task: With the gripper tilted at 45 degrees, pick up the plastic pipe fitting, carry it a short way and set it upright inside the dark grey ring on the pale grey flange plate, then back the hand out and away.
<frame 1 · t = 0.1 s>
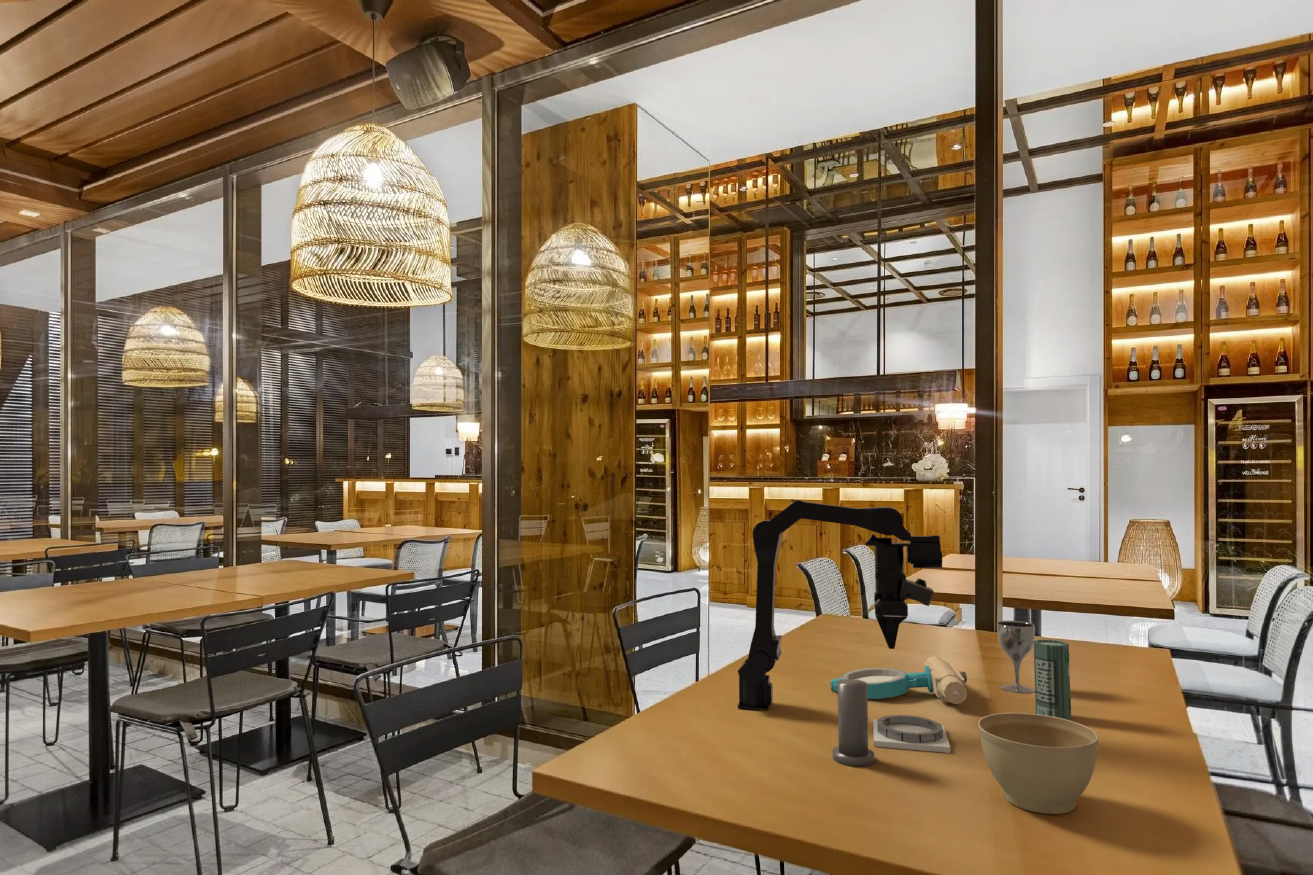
hand: (891, 643, 156), 15 cm above the table, tool pointing down, fingers open, 9 cm apart
butterfly valve: (897, 695, 172), on the table
wine glass: (1017, 689, 176), on the table
can: (1053, 718, 155), on the table
flange plate: (909, 737, 142), on the table
pipe fitting: (853, 758, 131), on the table
planter bowl: (1038, 803, 114), on the table
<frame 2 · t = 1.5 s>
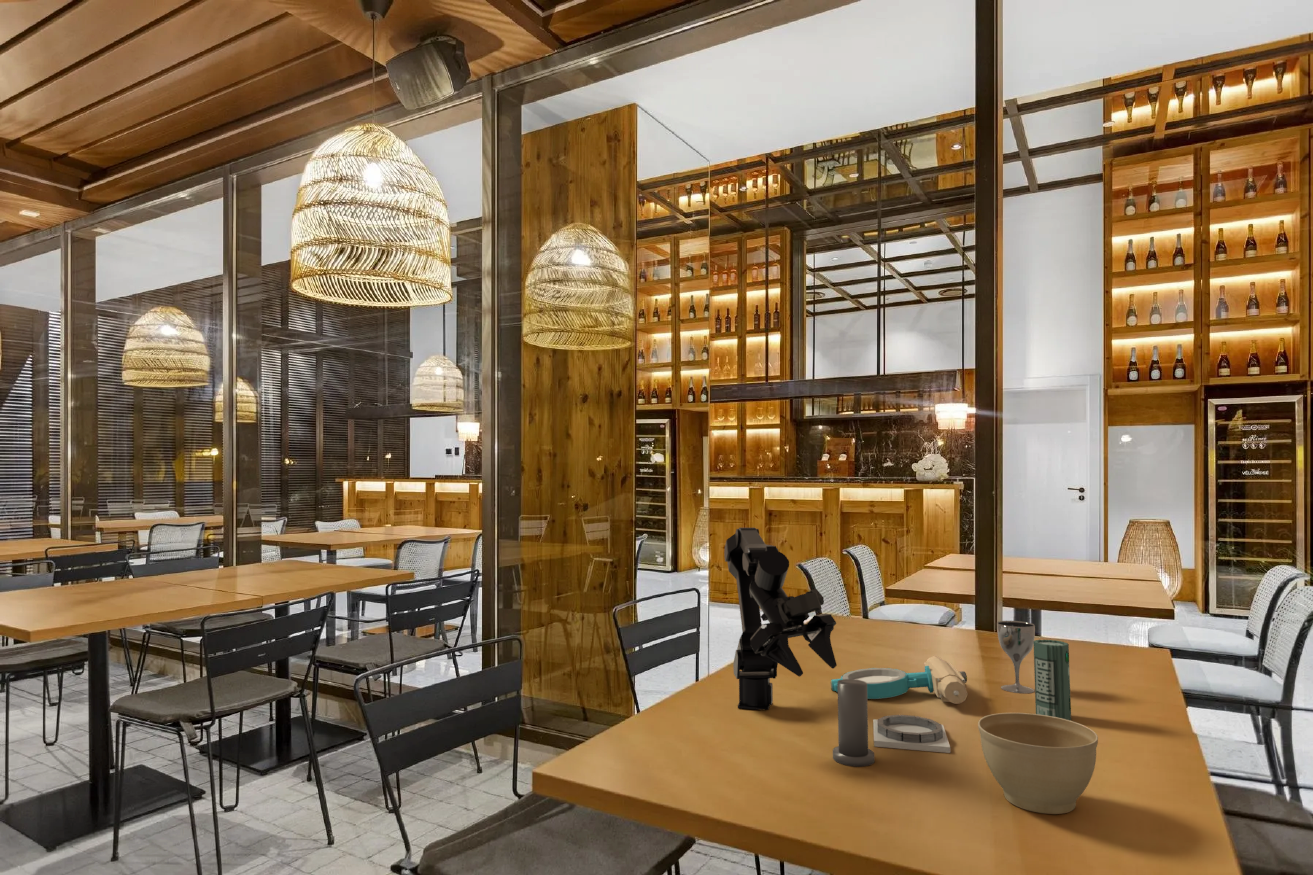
hand: (818, 670, 139), 13 cm above the table, tool tilted 45°, fingers open, 9 cm apart
nothing on the table moved.
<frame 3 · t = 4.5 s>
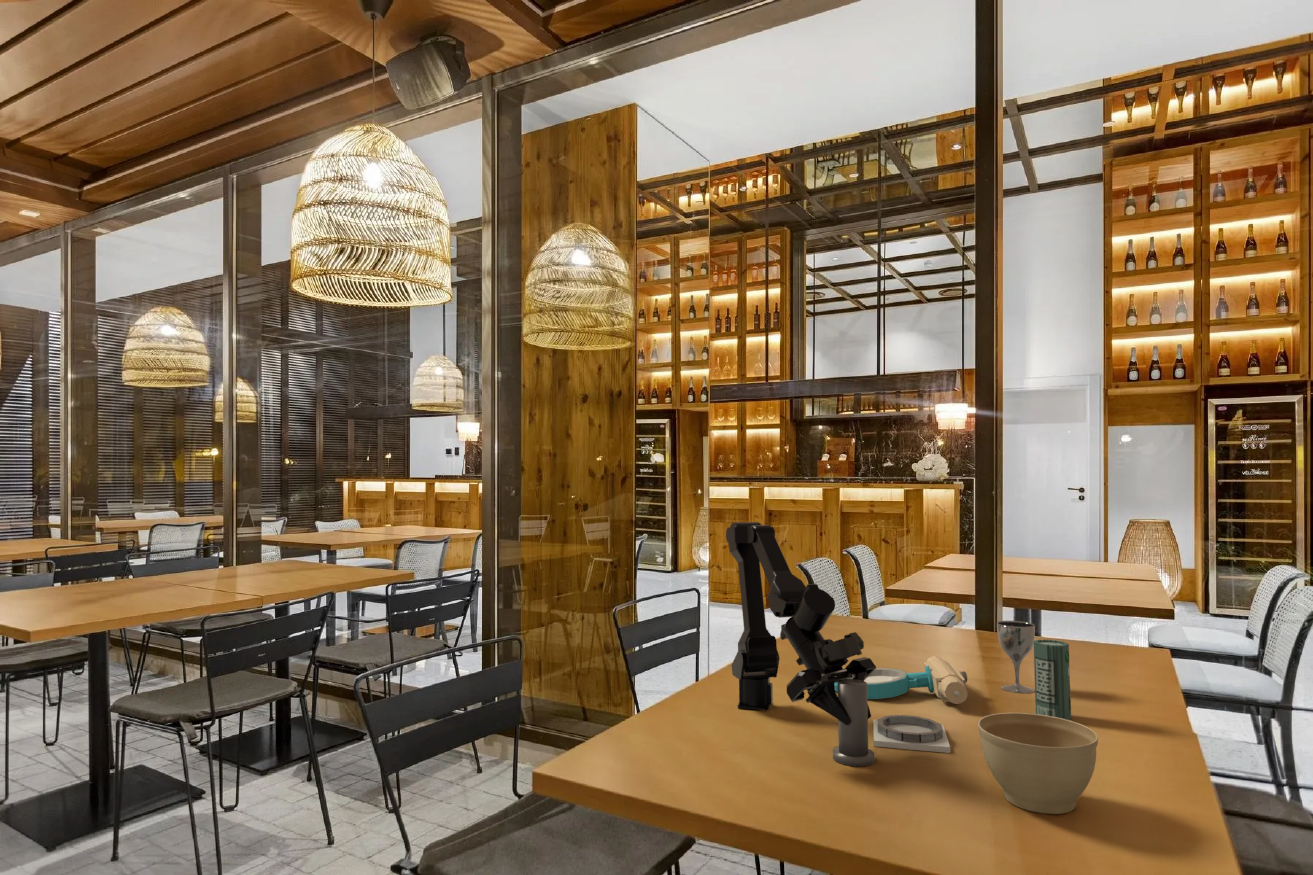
hand: (859, 720, 131), 7 cm above the table, tool tilted 45°, fingers closed on pipe fitting, 5 cm apart
pipe fitting: (853, 758, 131), on the table, touching gripper
everything else where it was.
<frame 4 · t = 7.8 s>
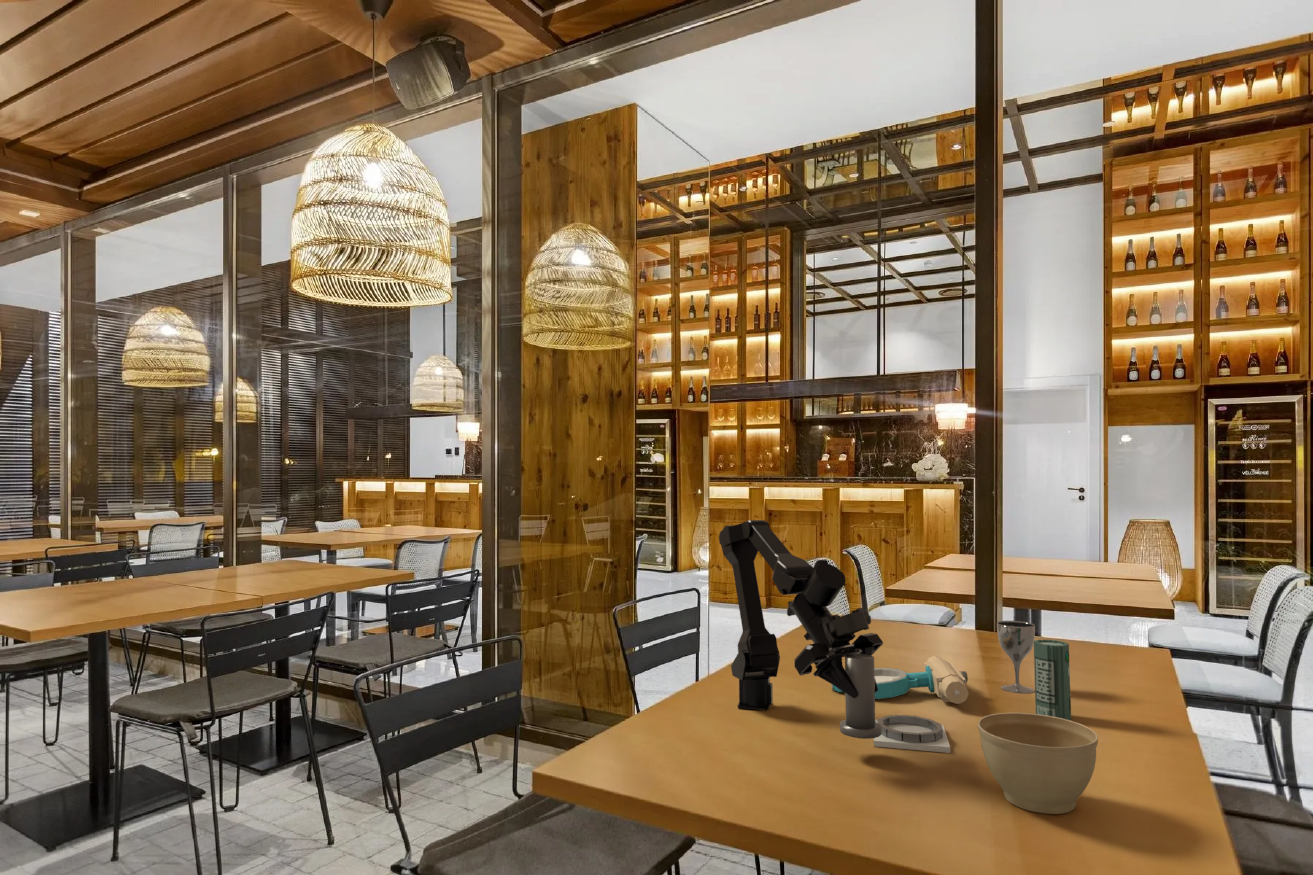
hand: (866, 694, 132), 11 cm above the table, tool tilted 45°, fingers closed on pipe fitting, 5 cm apart
pipe fitting: (860, 731, 133), point 4 cm above the table, touching gripper
everything else where it was.
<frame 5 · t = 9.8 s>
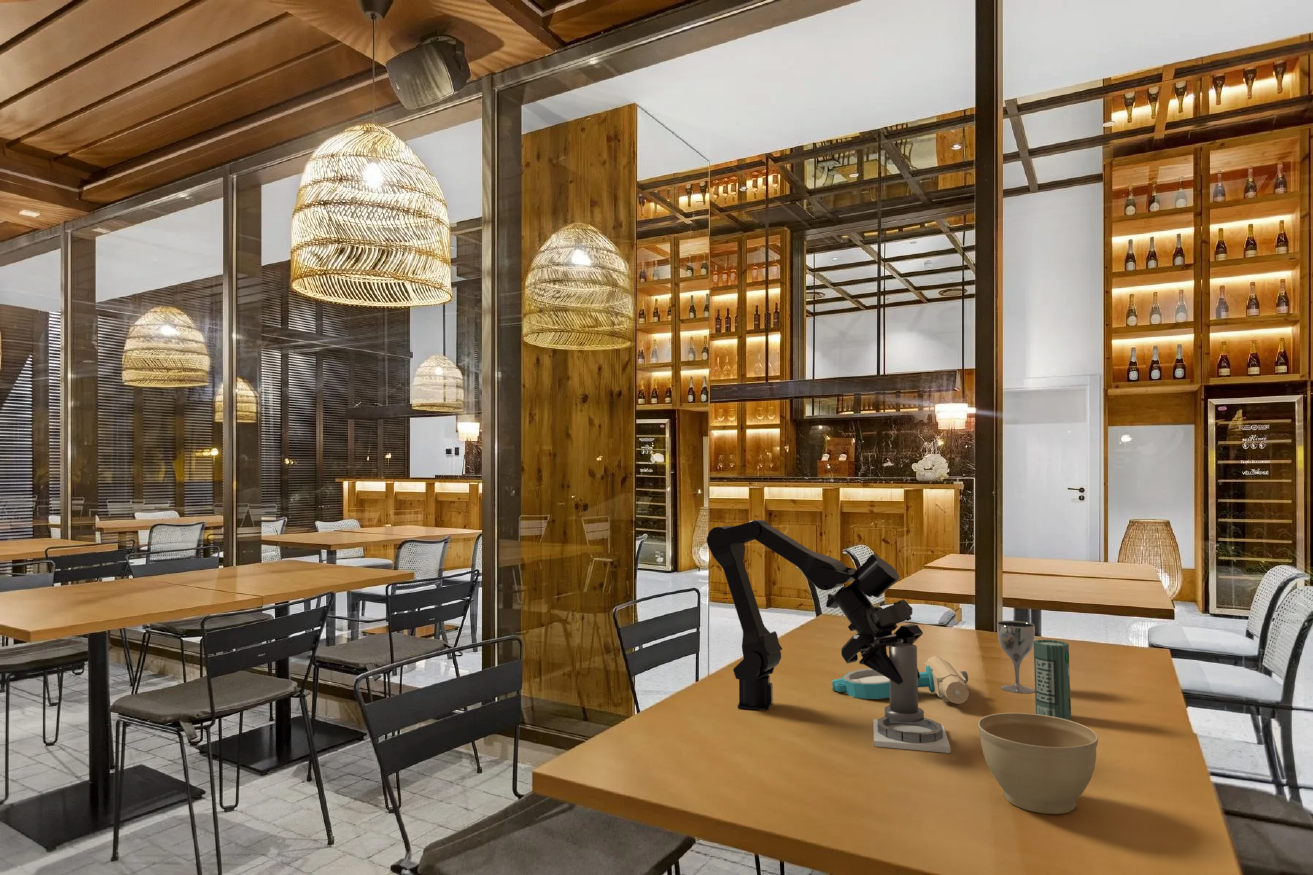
hand: (909, 680, 141), 11 cm above the table, tool tilted 45°, fingers closed on pipe fitting, 5 cm apart
pipe fitting: (904, 716, 141), point 4 cm above the table, touching gripper
everything else where it was.
when the fingers open (9 cm above the table, at t = 11.5 s): pipe fitting stays where it is, resting on flange plate.
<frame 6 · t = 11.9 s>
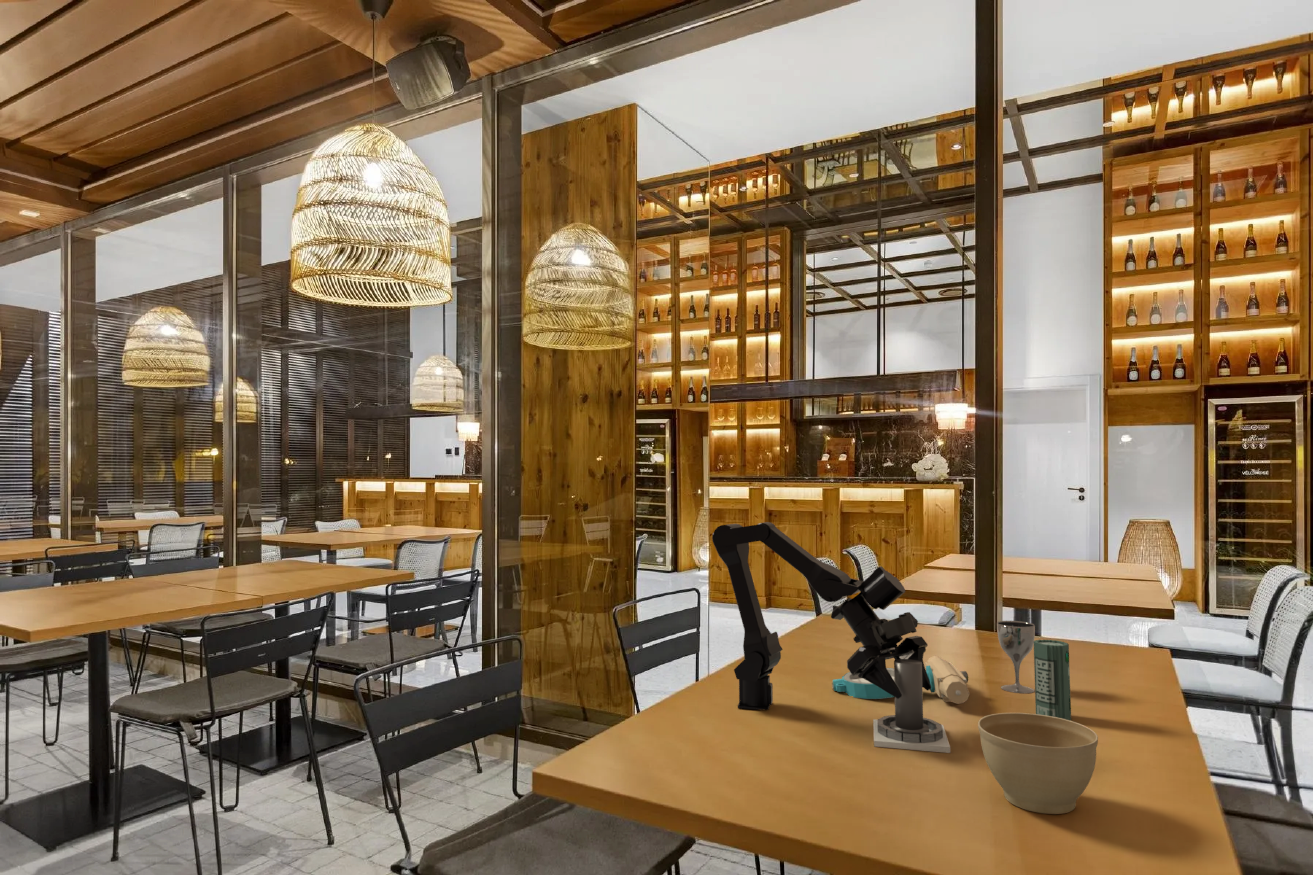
hand: (915, 693, 142), 9 cm above the table, tool tilted 45°, fingers open, 9 cm apart
pipe fitting: (909, 732, 142), point 1 cm above the table, touching flange plate
everything else where it was.
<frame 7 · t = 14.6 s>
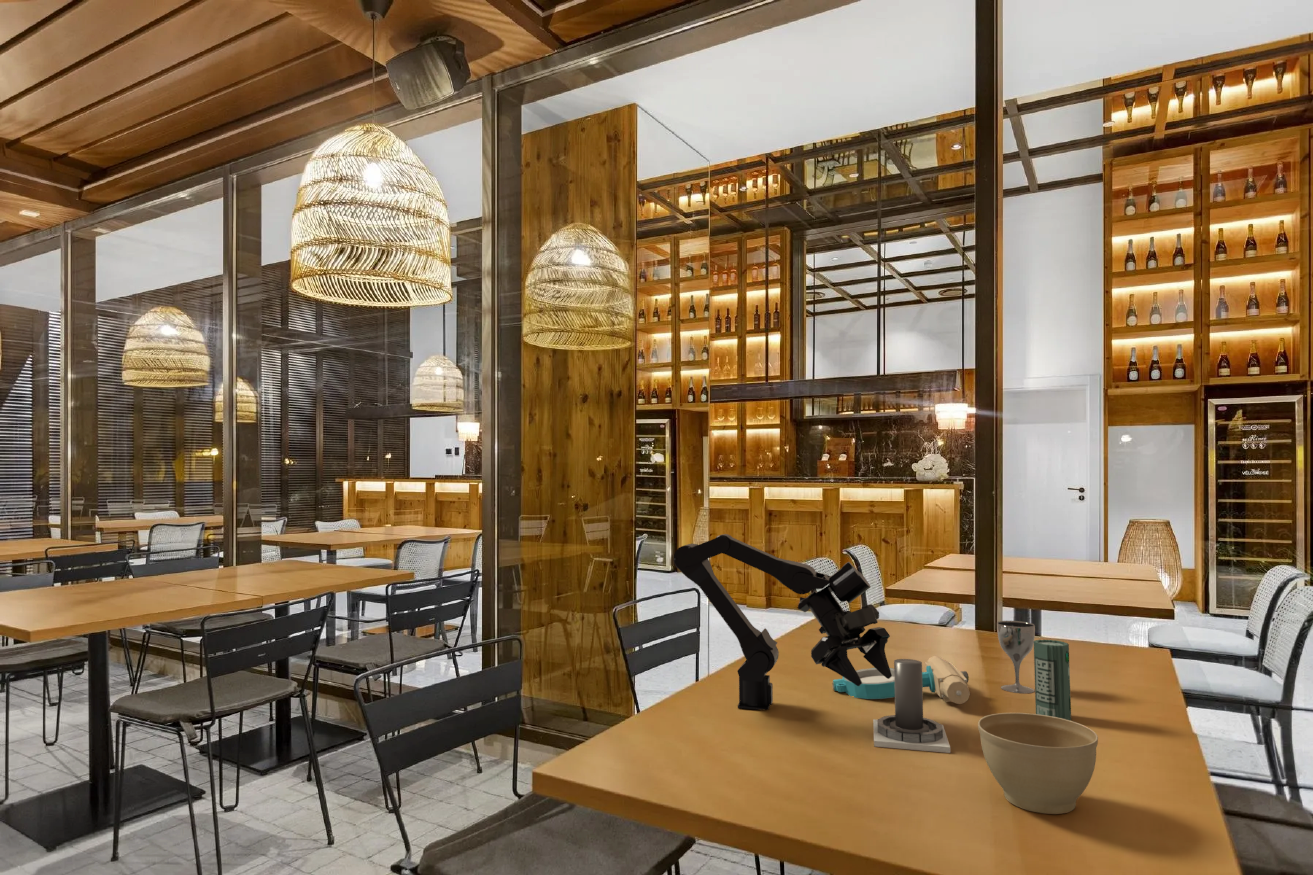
hand: (875, 681, 149), 9 cm above the table, tool tilted 45°, fingers open, 9 cm apart
nothing on the table moved.
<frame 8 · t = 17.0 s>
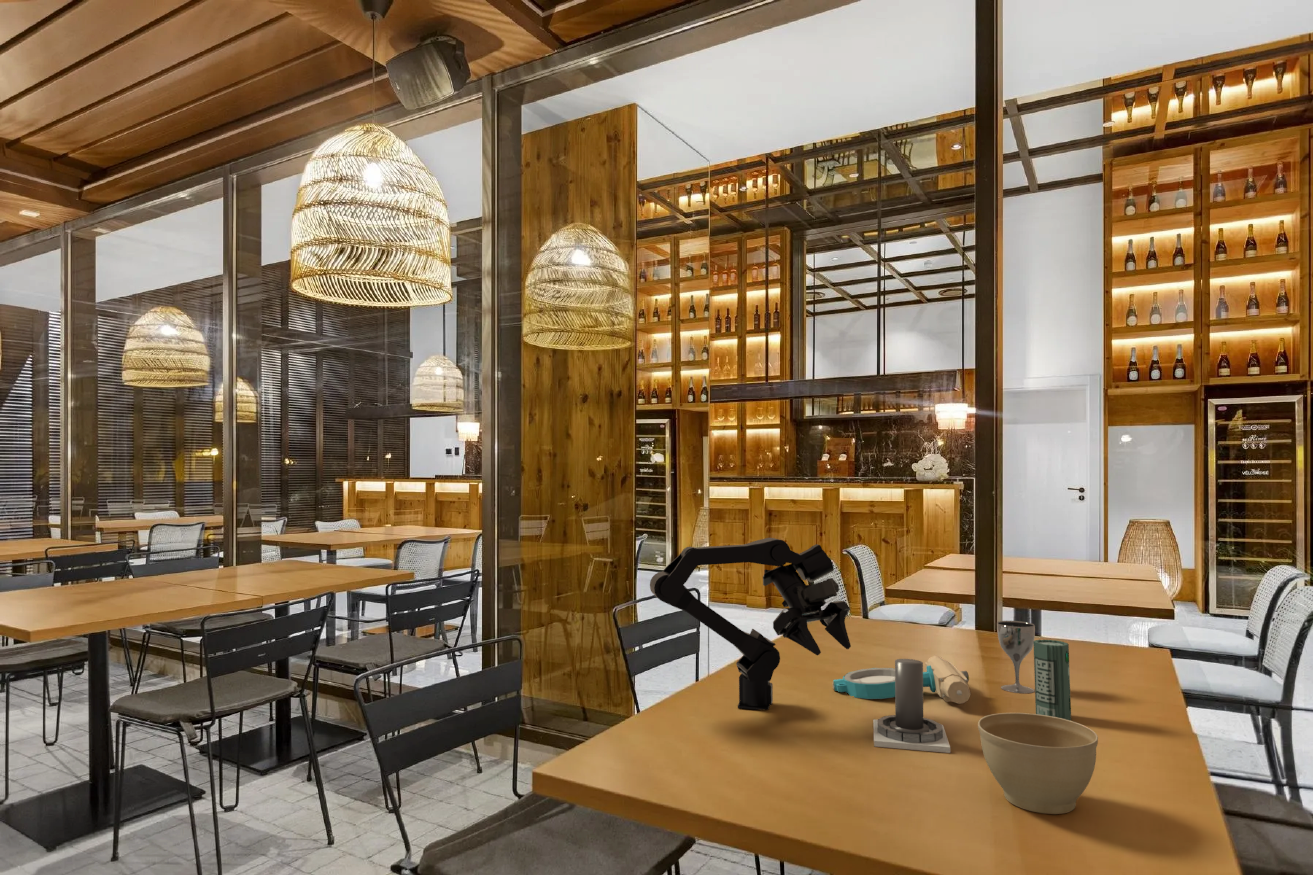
hand: (834, 650, 155), 14 cm above the table, tool tilted 45°, fingers open, 9 cm apart
nothing on the table moved.
at the end: pipe fitting 0.0 cm off-centre on the flange plate, point 1.1 cm above the flange plate's base; pipe fitting tilted 1°; the gripper is holding nothing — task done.
